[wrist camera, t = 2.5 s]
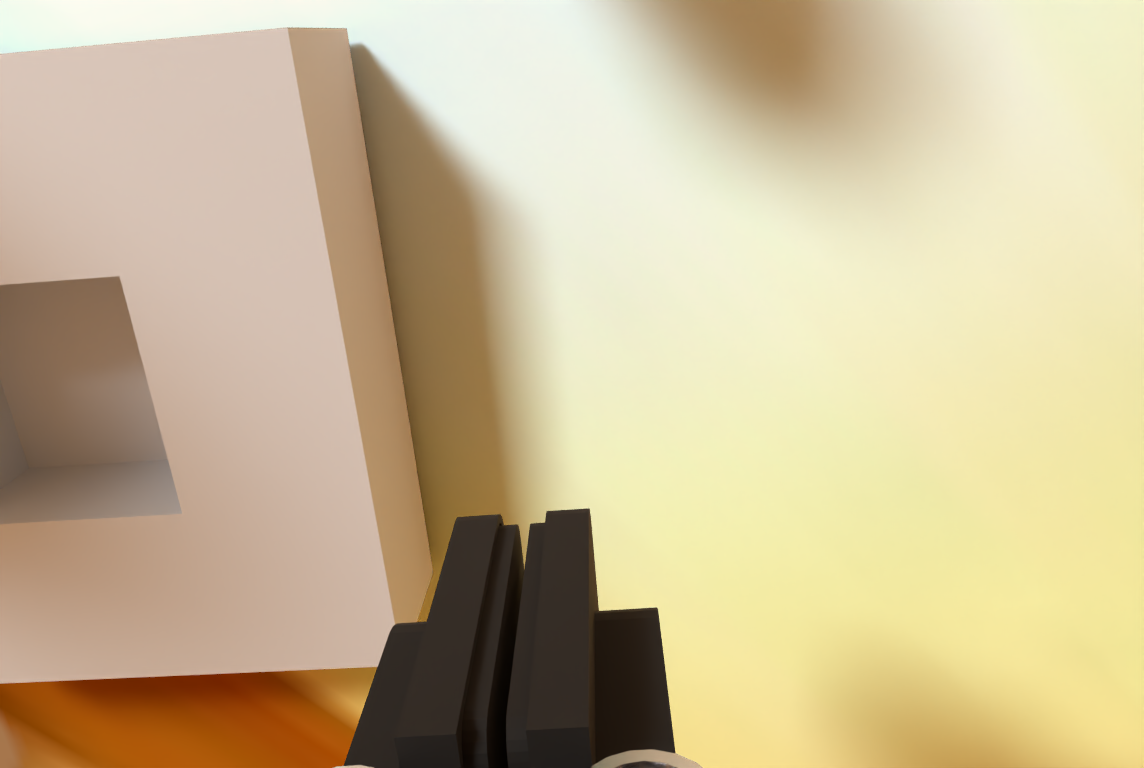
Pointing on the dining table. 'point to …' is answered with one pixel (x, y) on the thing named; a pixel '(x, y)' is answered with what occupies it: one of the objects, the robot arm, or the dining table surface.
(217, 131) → the socket block
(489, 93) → the dining table surface
